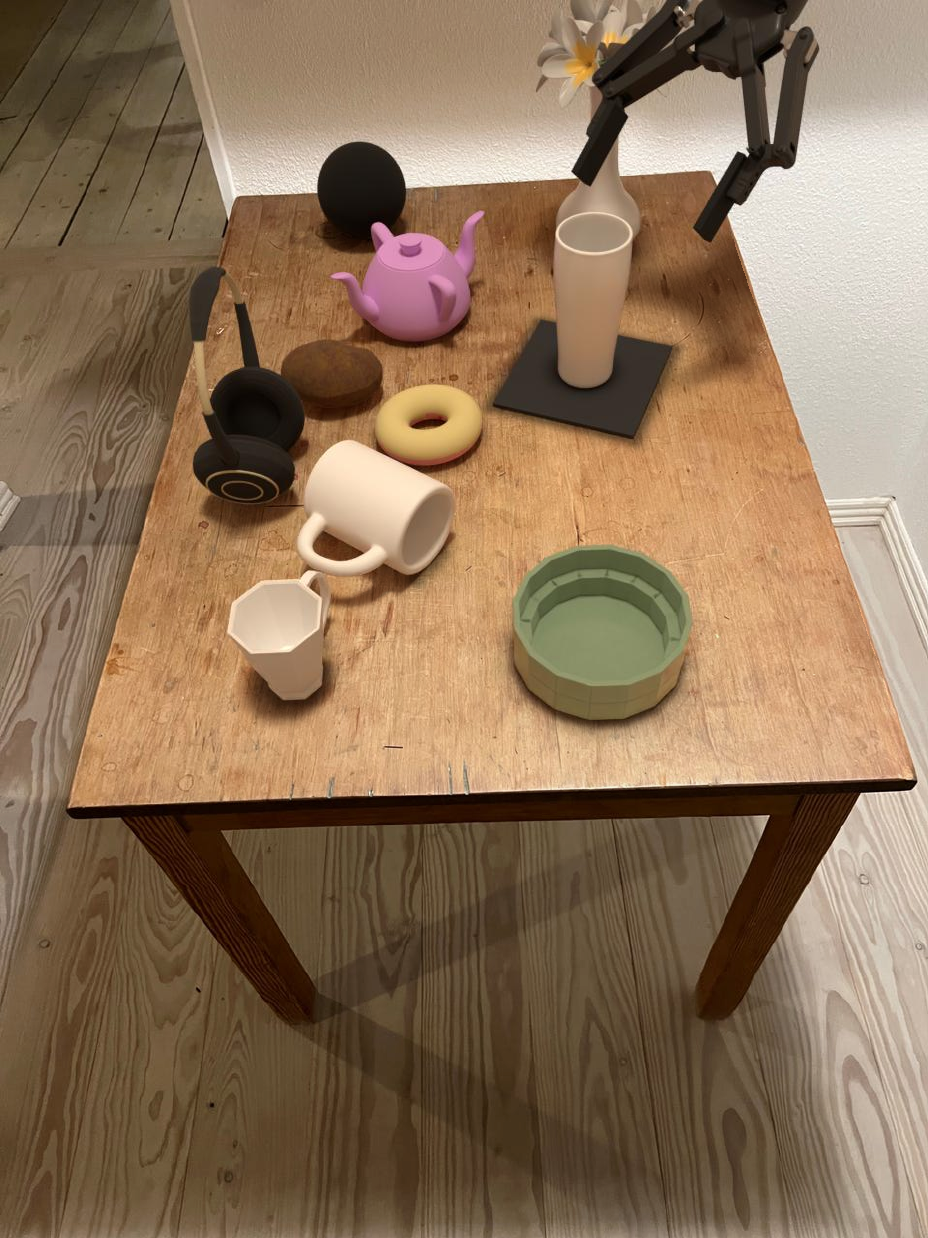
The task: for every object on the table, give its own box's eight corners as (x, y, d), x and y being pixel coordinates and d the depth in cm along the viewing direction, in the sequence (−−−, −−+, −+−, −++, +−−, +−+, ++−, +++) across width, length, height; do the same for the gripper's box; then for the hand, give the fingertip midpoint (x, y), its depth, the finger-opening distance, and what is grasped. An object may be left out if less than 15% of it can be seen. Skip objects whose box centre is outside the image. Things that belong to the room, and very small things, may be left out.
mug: (370, 488, 85) (358, 420, 79) (459, 533, 81) (454, 466, 75) (280, 573, 80) (259, 508, 73) (371, 626, 76) (358, 562, 69)
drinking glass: (541, 388, 92) (544, 247, 80) (561, 346, 95) (567, 205, 83) (609, 401, 90) (622, 259, 78) (626, 358, 94) (642, 216, 82)
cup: (234, 700, 72) (206, 639, 66) (295, 603, 78) (274, 537, 71) (316, 727, 70) (295, 667, 64) (372, 626, 76) (358, 560, 69)
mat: (672, 349, 95) (672, 345, 95) (633, 438, 87) (633, 435, 87) (540, 322, 99) (540, 319, 98) (492, 406, 91) (492, 403, 91)
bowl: (700, 610, 75) (710, 570, 71) (656, 745, 68) (665, 708, 64) (545, 568, 78) (546, 527, 75) (489, 691, 71) (487, 654, 67)
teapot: (487, 284, 103) (484, 208, 96) (453, 364, 95) (447, 286, 88) (384, 272, 105) (374, 196, 98) (342, 348, 97) (328, 272, 90)
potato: (385, 417, 91) (378, 364, 86) (284, 425, 91) (270, 372, 86) (384, 373, 95) (377, 320, 90) (287, 381, 95) (274, 328, 90)
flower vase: (654, 206, 111) (682, -42, 92) (648, 295, 100) (679, 35, 80) (544, 202, 113) (548, -42, 93) (526, 290, 102) (527, 34, 82)
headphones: (200, 535, 83) (123, 345, 67) (229, 422, 91) (167, 230, 76) (297, 534, 82) (243, 342, 66) (316, 420, 91) (273, 226, 75)
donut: (488, 473, 89) (464, 399, 93) (497, 440, 85) (471, 365, 89) (384, 484, 86) (364, 408, 90) (388, 451, 82) (367, 373, 87)
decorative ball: (321, 215, 113) (306, 131, 105) (403, 203, 114) (394, 119, 106) (329, 261, 107) (314, 175, 99) (415, 248, 108) (407, 162, 100)
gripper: (930, 20, 73) (771, 277, 79) (675, -54, 84) (554, 175, 90) (915, -40, 66) (744, 244, 73) (642, -110, 78) (515, 139, 84)
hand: (638, 206), depth 81 cm, fingers open, 13 cm apart
